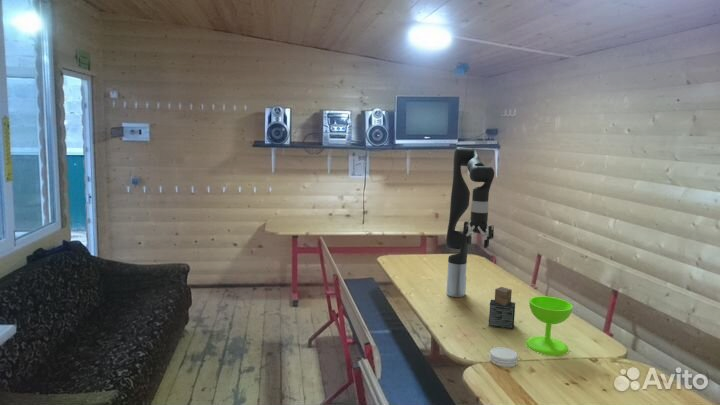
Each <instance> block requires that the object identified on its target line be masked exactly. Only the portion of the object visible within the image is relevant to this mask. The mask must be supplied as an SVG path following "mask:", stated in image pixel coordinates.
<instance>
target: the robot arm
mask: <svg viewBox="0 0 720 405" xmlns="http://www.w3.org/2000/svg"><path fill="white" fill-rule="evenodd" d="M462 167H467V171H468V172H469V177H470V178H469V179H470V180H471V181H472V182H474V183H483V184H482V185H481V186H478V187H477V186H476V187H474V188H473V189H472V195H471V192H470V189H469V187H468V185H467V183H466V181H465V179H464V176H463V174H462V169H461V168H462ZM494 178H495V170H494V168H493V167H492V166H486V165H485V164H484V163H483V162H482V161H481V159H480V156H479V154H478V152H477V150H476V149H475V148H471V147H462V146H461V147H459V146H458V147H456V148H455V150H454V153H453V172H452V185H451V186H452V187H451V193H450V207H449V208H450V209H449V220H448V226H447V233H446V240H445V244H446V248H448V249H452V250H453V249H454V250H460V251H459V252H458V253H454V254H453V253H452V254H450V255H448V259H447V260H448V263H447V276H446V277H447V278H446V295H447V296H448V297H452V298H463V297H465V295H466V289H467V287H466V286H467V264H468V262H467V260H468V252H469V251H468V250H469V245H471V244H472V235H473V234H474V233H475V234H476V233H477V234H478V235H479V234H481V236H482V237H483V239H484V240H483V248H484V249H487V248H488V247H489V245H490V240H493V239H494V237H495V236H494V234H495V232H494V228H495V227H494V225H488V220H489V194H490V189H491V186H492V183H493V181H494ZM470 196H472V198H471V199H470ZM470 200H472V201H471V206H470ZM469 206H470V221H469V220H466V221H464V222H463V228H462V229H463V230H462V231H461V230H456V227H457V223H458V222H459V221H460V219H461V217H462V216H463V215H464V214H465V213H466V211H467V210H468V209H469ZM469 228H470V229H469Z"/></svg>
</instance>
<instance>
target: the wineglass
mask: <svg viewBox="0 0 720 405" xmlns="http://www.w3.org/2000/svg"><path fill="white" fill-rule="evenodd" d="M528 302H529V303H528V304H529V309H530V311H531V313H532V315H533V316H534V317H535V318H536V319H537V320H538V321H540V322H542V323H544V324H546V325H545V335H544V336H538V335H537V336H532V337H530V338H528V339H527V340H526V341H525V345H527V346H526V347H527V348H528V349H529V348H530V349H529V350H531V351H532V350H533V351H532V352H534V351H535V353H537V352H539V353H538V354H540V353H542V354H541V355H544V354H545V356H549V355H550V356H551V357H560V356H559V355H562V356H564V355H563V354H565V355H567V354H568V353H569V351H568V350H569V347H568V346H567V345H566V343H564V342H562V341H561V340H559V339H556V338H553V337H551V334H552V333H551V332H552V325H558V324H561V323H563V322H565V321H566V320H567V319H569V317H570V315H571V314H572V312H573V307H574V306H573V304H572V303H570V302H569V301H568V300H565V299H562V298H559V297H553V296H546V295H545V296H543V295H542V296H541V295H540V296H533V297H531V298H529V300H528ZM567 352H568V353H567ZM566 353H567V354H566Z"/></svg>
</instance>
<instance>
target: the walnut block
mask: <svg viewBox="0 0 720 405" xmlns="http://www.w3.org/2000/svg"><path fill="white" fill-rule="evenodd" d="M494 290H495V291H494V300H495V303H498V304H501V305H507V304H510V303H511V302H512V294H513V292H512V291H513V290H512V289H511V288H507V287H504V286H500V287H498V288H495V289H494Z"/></svg>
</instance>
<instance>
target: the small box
mask: <svg viewBox="0 0 720 405" xmlns="http://www.w3.org/2000/svg"><path fill="white" fill-rule="evenodd" d="M515 313H516V302H514V301H513V302H512V301H511V303H510V304H507V305H501V304H498V303H495V299H490V302H489V312H488V314H489V315H488V327H492V328H497V329H498V328H499V329H505V330H510V331H513V330H514V327H515Z"/></svg>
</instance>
